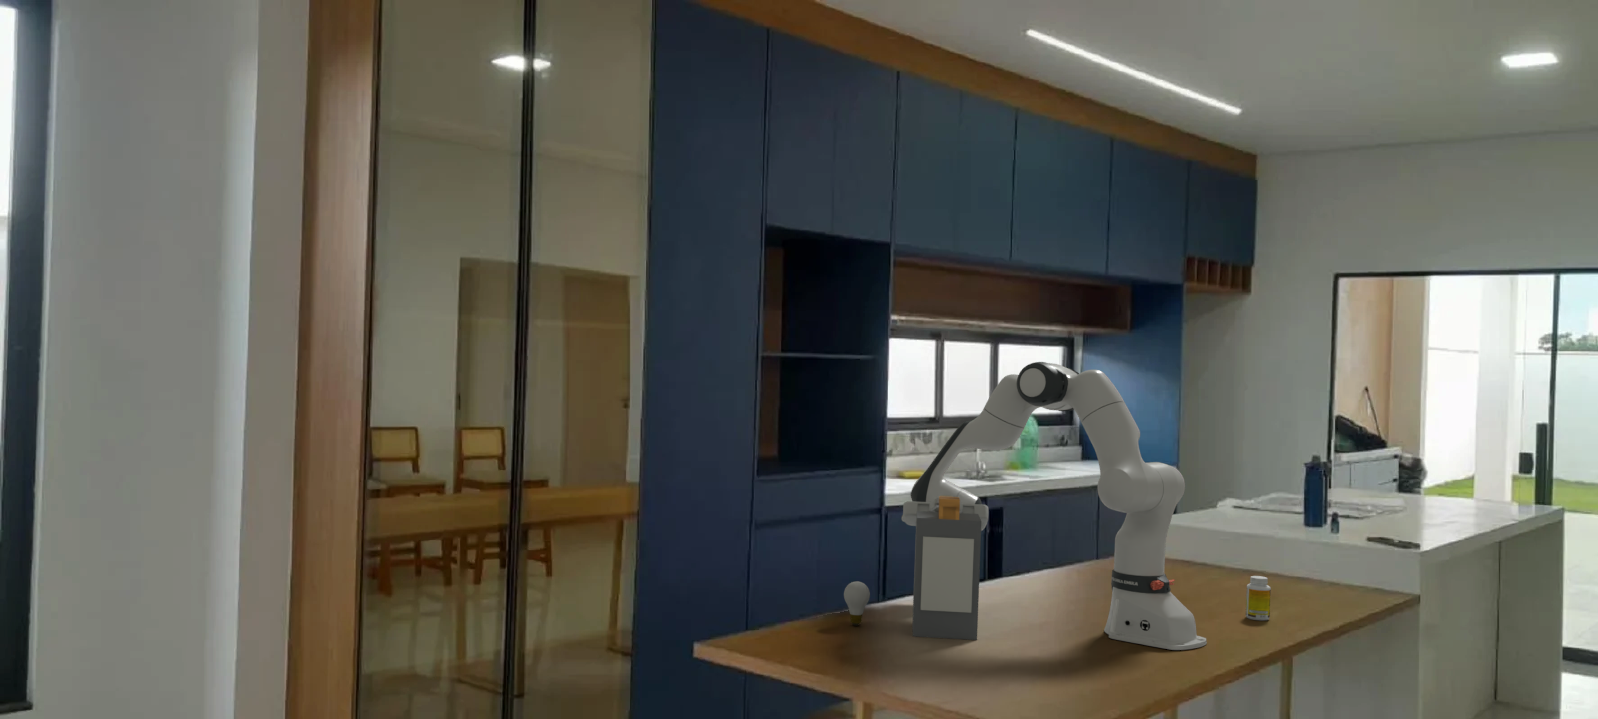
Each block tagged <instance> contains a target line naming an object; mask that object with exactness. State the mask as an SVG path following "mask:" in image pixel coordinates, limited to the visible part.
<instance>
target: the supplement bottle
mask: <svg viewBox="0 0 1598 719" xmlns="http://www.w3.org/2000/svg"><path fill="white" fill-rule="evenodd" d="M1268 579H1269V578H1268V577H1265V576H1262V575H1261V576H1260V575H1252V576H1250V579H1249V581H1250V582H1249V583H1248V584H1247V585H1246V591H1245V592H1246V594H1245V596H1246V597H1245V617H1246V618H1247V619H1249V620H1253V621H1262V622H1263V621H1265V622H1266V621H1268V620H1270V617H1271V595H1272V594H1271V590H1272V589H1271V586H1269V585H1268V582H1269V581H1268Z"/></svg>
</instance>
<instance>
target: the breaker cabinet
mask: <svg viewBox="0 0 1598 719" xmlns="http://www.w3.org/2000/svg"><path fill="white" fill-rule="evenodd" d="M938 513H939V512H926V511H917V512H916V526H915V542H914V543H915V544H914V570H913V572H914V573H913V575H914V576H913V593H912V594H913V598H912V600H913V601H912V624H911V625H912V626H911V627H912V637H919V638H936V639H938V638H939V639H953V640H971V641H978V628H979V627H978V626H979V625H978V624H979V622H978V620H979V594H980V593H979V592H980V573H981V572H980V571H981V570H980V569H981V566H980V565H981V547H982V546H981V543H982V542H981V540H982V539H981V538H982V531H981V519H980V517H979V515H978V514H968V513H959V520H950V519H939V517H938Z"/></svg>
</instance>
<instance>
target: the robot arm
mask: <svg viewBox="0 0 1598 719" xmlns="http://www.w3.org/2000/svg"><path fill="white" fill-rule="evenodd" d="M1039 408H1042V409H1045V410H1049V411H1058V412H1070V411H1073V410H1074V411H1075V413H1076V415H1077V417H1078V418H1079V419H1078V420H1079V421H1080V423H1081V425H1082V427H1083V429H1084V431H1085V433H1086V436H1088V439H1089V441H1090V443H1091V444H1092V447H1093V449H1094V451H1095V454H1096V457H1097V461H1098V466H1099V471H1100V472H1099V473H1100V475H1099V478H1098V482H1097V486H1096V487H1097V493H1098V497H1099V500H1100V502H1102V504H1103V505H1104V506H1105V507H1107V508H1108V509H1110V510H1112V511H1116V512H1120V513H1125V514H1126V515H1125V518H1124V521H1123V523H1122V525H1121V527H1120V528H1119V530H1118V531H1117V533H1116V534H1115V538H1114V556H1113V558H1114V561H1113V569H1112V570H1111V582H1110V584H1111V592H1112V594H1111V600H1110V601H1111V602H1110V607H1109V612H1108V617H1107V620H1106V624H1105V626H1104V630H1103V632H1104V633H1105V634H1107V635H1108V638H1110V639H1112V640H1117V641H1122V642H1127V643H1132V644H1139V645H1144V646H1149V647H1154V648H1160V649H1167V650H1172V651H1180V650H1181V651H1185V650H1192V649H1196V648H1197V649H1198V648H1201V647H1204V646H1206V645H1207V643H1208V642H1207V637H1204V636H1200V635H1197V625H1196V619H1195V616H1194V614H1193V613H1192V611H1190V610H1189V609H1188V608H1187V607H1186V606H1185V605H1184V604H1183V603H1182V602H1181V601H1180V600H1179V599H1178V598H1177V597H1176V596H1175V595H1174V594H1173V593H1172V592H1171V586H1173V585H1175V583H1173V582H1175V581H1176V580H1175V579H1169V578H1168V577H1167V575H1166V573H1165V565H1166V564H1165V561H1166V558H1165V557H1166V545H1167V537H1168V534H1169V533H1168V532H1169V529H1170V525H1171V522H1172V518H1173V515H1174V512H1175V510H1176V507H1177V505H1178V503H1179V502H1180V501H1181V500H1182V497H1183V496H1184V494H1185V490H1186V483H1185V482H1186V481H1185V479H1184V476H1183V475H1182V473H1181V472H1180V471H1179V469H1178V468H1176V467H1174V466H1172V465H1170V464H1167V463H1163V462H1159V461H1153V462H1151V461H1150V462H1145V461H1144V459H1143V458H1142V454H1141V450H1140V445H1139V441H1140V439H1141V438H1140V437H1141V430H1140V429H1139V427H1138V424H1137V423H1136V421H1135V419H1134V417H1133V415H1132V413H1131V412H1130V409H1129V408H1128V406H1127V404H1126V402H1125V401H1124V399H1123V396H1122V395H1121V393H1120V392H1119V391H1118V389H1117V388H1116V386H1115V384H1114V383H1113V382H1112V381H1111V379H1110V378H1109V377H1108V376H1107V375H1106V373H1105V372H1103V371H1101V370H1099V369H1086V370H1084V371H1081V372H1078V371H1076V370H1074V369H1073V368H1069V367H1068V368H1067V367H1066V366H1063V365H1060V364H1058V363H1053V362H1052V363H1051V362H1046V361H1036V362H1032V363H1029V364H1027V365H1025V366H1024V367H1023V368H1022V369H1021V370H1020V372H1019V374H1015V373H1014V374H1007V375H1005V376H1004V377H1003V378H1001V380H1000V381H999V382H998V384H997V385H996V387H994V390H992V393H991V394H990V395H989V398H988V400H987V401H986V403H985V405H984V407H983V409H982V411H981V413H979V415H978V416H976V418H974V419H973V420H967V421H964V422H962V423H961V424H960V425H959V426H958V427H957V428H956V430H954V432H953V433H952V435H951V436H950V437H949V438H948V440H947V441H946V443H945V444H944V445H943V447H942V448H941V449H940V451H939V452H938V453H937V455H936V456H935V458H934V459H933V460H932V462H931V463H930V465H929V466H928V467H927V468H926V470H925V471H924V472H923V474H921V475H920V477H919V478H918V479H917V480H916V481H915V482H914V484H913V486H912V488H911V492H910V498H911V500H908V501H904V502H903V504H902V505H903V506H902V507H903V508H902V510H903V511H902V515H901V521H902V522H904V523H905V524H906V525H907V526H912V527H916V512H917V511H926V512H939V496H940V495H951V496H953V497H959V499H960V512H959V513H968V514H978V515H979V517H980V519H981V532H982V531H984V529H985V528H986V527H987V525H988V522H989V506H988V505H986V504H983V503H982V500H981V498H980V497H979V496H977V495H976V494H973V492H970V491H969V490H967V489H964V488H962V487H960V486H958V485H956V484H955V483H953V482H950V481H949V480H948V479H946V478H945V476H944V475H945V473H946V471H947V470H948V469H949V468H950V467H951V465H952V463H954V461H955V460H956V458H957V457H958V455H959V454H960V453H961V452H962V451H963V450H966V449H975V450H976V449H977V450H985V451H1002V450H1007V449H1009V448H1010V447H1012V446H1014V445H1015V444H1016V443H1017V441H1018V440H1019V438H1020V437H1021V435H1022V433H1023V431H1024V429H1025V427H1026V425H1027V423H1028V421H1029V420H1030V418H1031V415H1032V413H1033V412H1034V411H1035V410H1037V409H1039Z"/></svg>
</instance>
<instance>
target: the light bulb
mask: <svg viewBox="0 0 1598 719" xmlns="http://www.w3.org/2000/svg"><path fill="white" fill-rule="evenodd" d="M870 597H871V592H870V589H869V587H868V586H867V585H866V584H865V583H864V582H862V581H858V580H857V581H851V582H849V583H848V584H847V585H846V586H845V588H844V591H843V598H844V601H845V603H846V605H847V608H848V611H849V616H850V618H849V622H850V623H851V625H852V626H854V627H857V626H860V624H861V623H862V621H863V619H862V618H863V614H864V611H865V608H866V606H867V604H868V602H869V601H870V599H871V598H870Z"/></svg>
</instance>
